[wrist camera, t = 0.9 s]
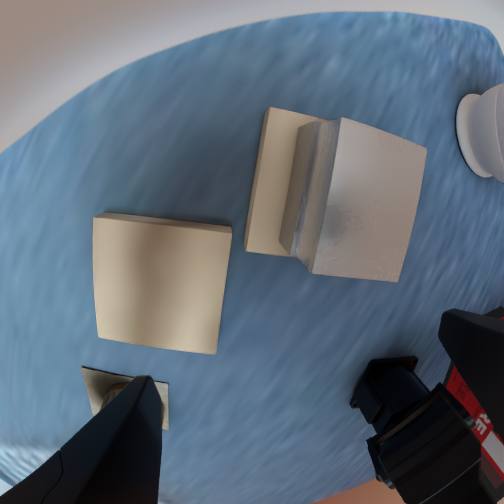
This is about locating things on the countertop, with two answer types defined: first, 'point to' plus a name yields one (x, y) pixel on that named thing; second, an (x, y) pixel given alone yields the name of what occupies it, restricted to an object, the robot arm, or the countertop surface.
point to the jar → (483, 132)
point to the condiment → (116, 391)
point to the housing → (352, 200)
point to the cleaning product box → (481, 428)
